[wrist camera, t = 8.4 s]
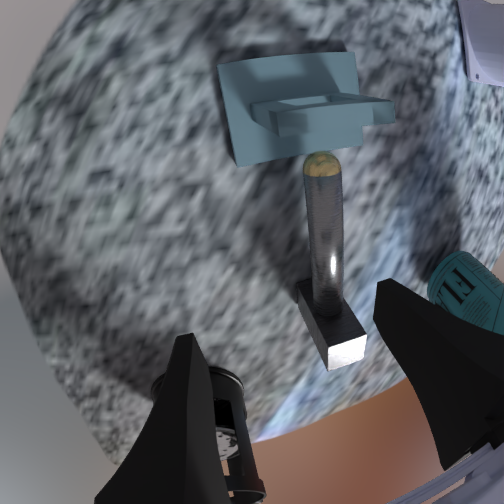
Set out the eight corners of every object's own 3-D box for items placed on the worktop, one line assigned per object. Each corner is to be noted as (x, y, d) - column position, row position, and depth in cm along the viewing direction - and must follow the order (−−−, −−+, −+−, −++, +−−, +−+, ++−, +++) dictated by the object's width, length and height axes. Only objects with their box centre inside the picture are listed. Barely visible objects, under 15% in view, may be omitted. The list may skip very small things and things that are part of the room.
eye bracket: (216, 65, 14) (230, 55, 9) (348, 52, 15) (411, 49, 10) (235, 164, 18) (257, 202, 12) (357, 142, 18) (416, 171, 13)
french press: (127, 389, 27) (138, 612, 7) (193, 348, 25) (242, 628, 6) (206, 426, 33) (239, 599, 13) (269, 395, 31) (330, 588, 12)
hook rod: (278, 142, 17) (323, 176, 12) (319, 136, 17) (378, 166, 12) (298, 307, 24) (327, 371, 19) (328, 299, 25) (363, 358, 19)
